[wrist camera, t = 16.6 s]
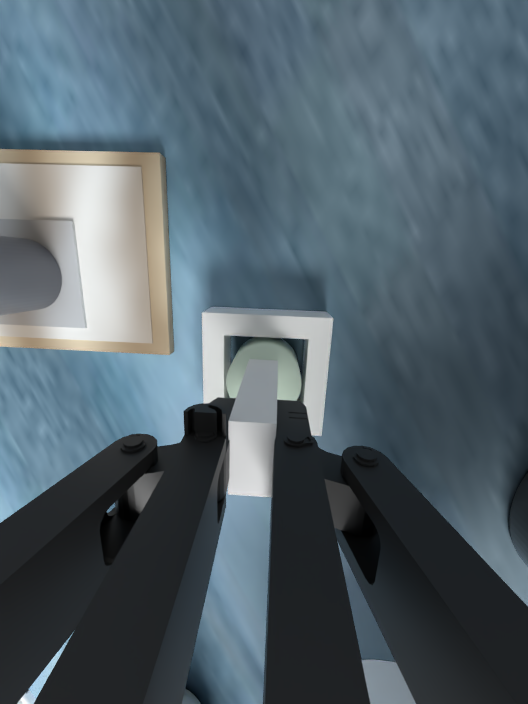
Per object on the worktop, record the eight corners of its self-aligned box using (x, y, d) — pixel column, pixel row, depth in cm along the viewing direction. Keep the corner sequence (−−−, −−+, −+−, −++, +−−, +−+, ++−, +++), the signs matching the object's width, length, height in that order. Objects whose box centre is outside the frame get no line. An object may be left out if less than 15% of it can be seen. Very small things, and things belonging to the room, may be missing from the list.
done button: (300, 336, 18) (304, 349, 15) (296, 397, 19) (298, 419, 17) (234, 333, 19) (226, 345, 16) (233, 393, 20) (226, 415, 17)
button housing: (326, 311, 18) (333, 318, 16) (316, 416, 20) (321, 436, 18) (212, 306, 19) (201, 312, 16) (212, 409, 21) (204, 428, 18)
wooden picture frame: (165, 157, 17) (157, 150, 16) (173, 351, 20) (168, 356, 19) (-112, 151, 17) (-138, 143, 16) (-63, 339, 20) (-82, 343, 19)
